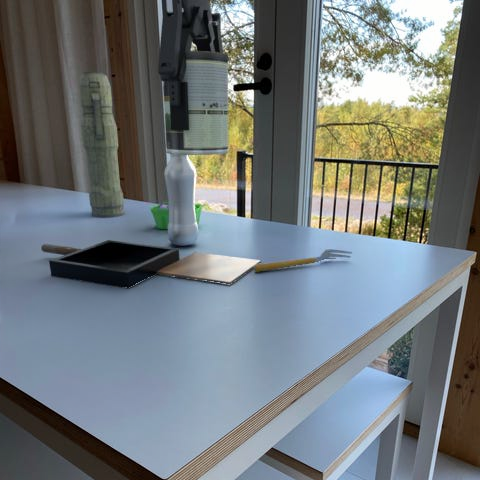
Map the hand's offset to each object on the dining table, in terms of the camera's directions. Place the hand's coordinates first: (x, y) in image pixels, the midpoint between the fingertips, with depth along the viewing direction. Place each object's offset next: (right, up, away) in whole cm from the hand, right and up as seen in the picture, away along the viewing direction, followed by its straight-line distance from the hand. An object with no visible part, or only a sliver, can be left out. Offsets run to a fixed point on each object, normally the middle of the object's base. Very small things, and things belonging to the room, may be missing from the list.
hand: (197, 129), depth 76 cm
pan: (-19, -21, +11) cm, 30 cm away
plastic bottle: (-5, -15, +25) cm, 30 cm away
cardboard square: (+2, -21, +9) cm, 23 cm away
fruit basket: (-8, -8, +41) cm, 43 cm away
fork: (+19, -21, +11) cm, 30 cm away
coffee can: (0, -3, +1) cm, 4 cm away
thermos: (-30, -1, +56) cm, 63 cm away
